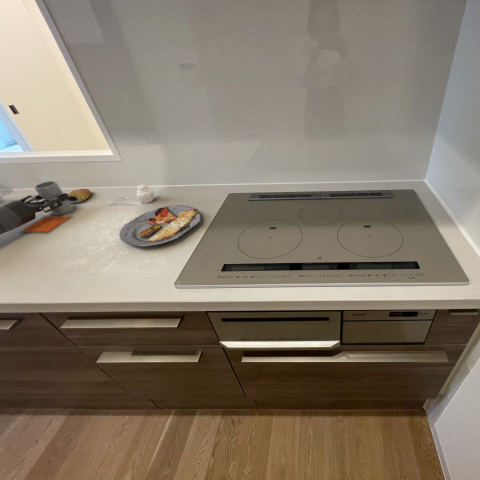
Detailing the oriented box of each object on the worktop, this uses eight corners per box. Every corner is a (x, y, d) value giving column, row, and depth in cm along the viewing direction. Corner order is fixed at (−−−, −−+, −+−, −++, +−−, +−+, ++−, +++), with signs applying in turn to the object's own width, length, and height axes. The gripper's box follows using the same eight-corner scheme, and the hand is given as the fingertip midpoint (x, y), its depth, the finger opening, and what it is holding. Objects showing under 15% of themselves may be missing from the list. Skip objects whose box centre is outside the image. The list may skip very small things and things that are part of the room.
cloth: (23, 231, 91) (22, 230, 90) (46, 217, 98) (45, 216, 98) (47, 232, 90) (46, 230, 90) (69, 218, 98) (68, 216, 97)
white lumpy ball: (136, 202, 106) (129, 186, 102) (151, 196, 110) (144, 180, 106) (145, 206, 104) (137, 189, 99) (160, 199, 108) (153, 183, 104)
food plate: (166, 205, 104) (163, 197, 101) (215, 215, 97) (213, 207, 95) (106, 242, 85) (100, 233, 83) (162, 257, 78) (158, 248, 76)
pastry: (79, 193, 113) (74, 185, 111) (96, 192, 114) (91, 184, 112) (65, 204, 106) (60, 195, 104) (84, 203, 107) (78, 194, 104)
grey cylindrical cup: (49, 215, 100) (29, 188, 93) (62, 206, 104) (44, 180, 98) (64, 215, 99) (45, 188, 93) (77, 207, 104) (60, 181, 97)
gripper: (18, 209, 83) (67, 186, 96) (-15, 204, 86) (37, 183, 99) (34, 228, 88) (79, 204, 101) (2, 223, 91) (50, 201, 103)
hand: (58, 194), depth 100 cm, fingers open, 8 cm apart
